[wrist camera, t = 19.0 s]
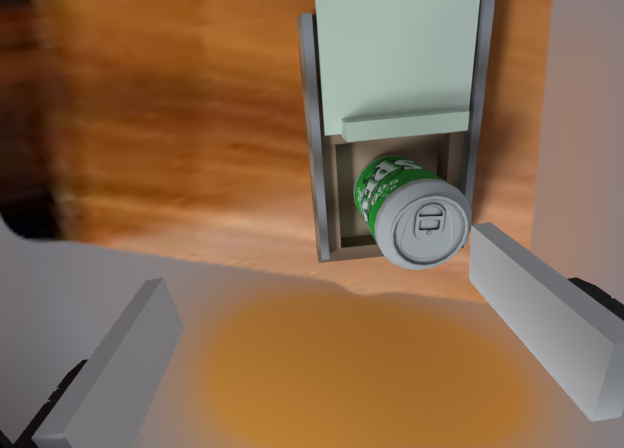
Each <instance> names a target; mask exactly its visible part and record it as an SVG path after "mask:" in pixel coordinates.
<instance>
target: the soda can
mask: <svg viewBox="0 0 624 448" xmlns="http://www.w3.org/2000/svg"><path fill="white" fill-rule="evenodd" d="M354 200H355V204H356V206H357V208H358V210H359V212H360V213H361V215H362V217H363V219H364V221H365V222H366V224H367V226H368V228H369V230H370V231H371V233H372V235H373V237H374V239H375V241H376V242H377V244H378V246H379V248H380V250H381V251H382V253H383V255H384V256H385V257H387V258H388V259H389V260H390V261H391V262H392V263H393V264H396V265H398V266H400V267H403V268H405V269H415V270H421V269H427V268H432V267H435V266H437V265H439V264H441V263H444V262H446V261H447V260H449V259H450V258H451V257H452V256H454V255H455V254H456V253H457V252H458V251H459V250H460V248H461V247H462V246H463V244H464V243H465V241H466V240H467V237H468V235H469V232H470V229H471V225H472V211H471V209H470V206H469V203H468V200H467V198H466V197H465V196H464V195H463V194H462V193H461V192H460V191H459V189H458V188H456V187H454V186H453V185H451V184H450V183H448V182H446V181H445V180H443V179H441V178H440V177H438V176H436V175H435V174H433V173H431V172H430V171H428V170H427V169H425V168H423V167H422V166H420V165H418V164H417V163H415V162H413V161H412V160H410V159H408V158H406V157H404V156H398V155H387V156H382V157H379V158H377V159H375V160H373V161H371V162H369V163H368V164H367V165H366V166H365V167H364V168H363V169H362V170H361V172H360V174H359V176H358V177H357V179H356V181H355V187H354Z"/></svg>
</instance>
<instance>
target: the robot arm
mask: <svg viewBox="0 0 624 448" xmlns="http://www.w3.org/2000/svg"><path fill="white" fill-rule="evenodd" d="M469 280H470V282H471V283H472V284H473V285H474V286H475V287H476V289H477V290H478V291H479V292H480V293H481V294H482V295H483V297H484V298H485V299H486V300H487V301H488V302H489V304H490V305H491V306H492V307H493V308H494V309H495V311H496V312H497V313H498V314H499V315H500V316H501V317H502V319H503V320H505V322H506V323H507V324H508V326H509V327H510V328H511V329H512V330H513V331H514V333H516V335H517V336H518V337H519V338H520V339H521V341H522V342H523V343H524V344H525V345H526V346H527V348H528V349H529V350H530V351H531V352H532V353H533V354H534V355H535V357H536V358H537V359H538V360H539V361H540V363H541V364H542V365H543V366H544V367H545V368H546V370H547V371H548V372H549V373H550V374H551V375H552V376H553V378H554V379H555V380H556V381H557V382H558V383H559V385H560V386H561V387H562V388H563V389H564V390H565V391H566V393H567V394H568V395H569V396H570V397H571V398H572V400H573V401H574V402H575V403H576V404H577V405H578V407H579V408H580V409H581V410H582V411H583V412H584V413H585V415H586V416H587V417H588V418H589V419H590V420H591V421H598V420H605V419H611V418H618V417H621V414H622V411H623V408H624V305H623V304H622V303H620V302H619V301H617V300H616V299H614V298H613V299H612V298H611V296H610V295H609V294H607V293H606V292H604V291H603V290H601V289H600V288H599V287H597V286H596V285H593V284H591V283H588V282H586V281H583V280H581V279H579V278H570V279H566V278H565V277H563V276H562V275H561V274H559V273H558V272H557V271H555V270H554V269H553V268H551V267H550V266H548V265H547V264H546V263H544V262H543V261H542V260H540V259H539V258H538V257H536V256H535V255H534V254H532V253H531V252H530V251H528V250H527V249H526V248H524V247H523V246H521V245H520V244H519V243H517V242H516V241H515V240H513V239H512V238H511V237H509V236H508V235H507V234H505V233H504V232H503V231H501V230H500V229H499V228H497V227H496V226H494V225H493V224H492V223H490V222H487V223H482V224H476V225H471V248H470V270H469ZM183 329H184V326H183V323H182V321H181V319H180V316H179V314H178V312H177V309H176V307H175V304H174V302H173V300H172V297H171V295H170V293H169V290H168V288H167V286H166V283H165V281H164V278H158V279H153V280H146V281H145V282H144V283H143V285H142V286H141V288H140V289H139V290H138V292H137V293H136V295H135V296H134V297H133V299H132V300H131V301H130V303H129V304H128V306H127V307H126V308H125V310H124V311H123V312H122V314H121V315H120V317H119V318H118V320H117V321H116V322H115V323H114V325H113V326H112V328H111V329H110V330H109V332H108V333H107V335H106V336H105V337H104V339H103V340H102V341H101V343H100V344H99V346H98V347H97V348H96V350H95V351H94V352H93V354H92V355H91V357H90V358H89V359H87V360H82V361H81V362H80V363H79V364H78V365H77V366H76V367H74V368H73V369H72V370H71V371H70V372H69V373H68V374H67V375H66V376H65V377H64V379H63V380H62V382H61V383H60V384H59V385H58V387H57V388H56V391H54V392H53V393H52V395H51V396H50V397H49V398H48V400H47V403H45V404H44V405H43V406H42V408H41V409H40V410H39V412H38V413H37V414H36V416H35V417H34V418H33V420H32V421H31V422H30V424H29V425H28V426H27V427H26V429H25V430H24V431H23V433H22V434H21V435H20V437H19V438H18V439H17V441H16V442H15V443H14V444H12V443H11V442H10V440H9V439H8V438H7V437H6V436H5V435H4V433H3V432H2V431H1V430H0V448H132V446H133V444H134V442H135V439H136V437H137V435H138V433H139V430H140V428H141V426H142V423H143V421H144V419H145V416H146V414H147V412H148V410H149V407H150V405H151V403H152V400H153V398H154V396H155V393H156V391H157V389H158V386H159V384H160V382H161V380H162V377H163V375H164V373H165V371H166V368H167V366H168V364H169V361H170V359H171V357H172V354H173V352H174V350H175V348H176V345H177V343H178V340H179V338H180V336H181V334H182V331H183Z"/></svg>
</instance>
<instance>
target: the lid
mask: <svg viewBox="0 0 624 448" xmlns="http://www.w3.org/2000/svg"><path fill="white" fill-rule="evenodd" d="M479 3H480V0H315V8H316V22H317V37H318V52H319V66H320V81H321V95H322V110H323V125H324V135H325V136H326V135H337V134H342V138H343V139H344V140H345V141H346V142H353V141H363V140H374V139H384V138H394V137H405V136H415V135H425V134H436V133H446V132H457V131H467V130H468V123H469V113H470V111H469V105H470V95H471V84H472V74H473V64H474V54H475V44H476V33H477V23H478V13H479Z"/></svg>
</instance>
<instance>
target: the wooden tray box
mask: <svg viewBox="0 0 624 448" xmlns="http://www.w3.org/2000/svg"><path fill="white" fill-rule="evenodd" d="M494 6H495V0H480V3H479V13H478V23H477V33H476V44H475V54H474V64H473V74H472V84H471V95H470V105H469V111H470V113H469V123H468V130H467V131H457V132H446V133H436V134H425V135H415V136H405V137H394V138H384V139H374V140H363V141H353V142H346V141H345V140H344V139H343V138H342V134H337V135H326V136H325V135H324V125H323V110H322V95H321V81H320V66H319V52H318V37H317V22H316V15H312V12H311V13H301V16H299V17H297V32H298V43H299V54H300V66H301V77H302V88H303V99H304V111H305V122H306V133H307V144H308V156H309V167H310V178H311V189H312V200H313V212H314V223H315V234H316V245H317V254H318V260H319V263H322V262H332V261H341V260H351V259H361V258H370V257H380V256H384V255H383V253H382V251H381V250H380V248H379V246H378V244H377V242H376V241H375V239H374V237H373V235H372V233H371V231H370V230H369V228H368V226H367V224H366V222H365V221H364V219H363V217H362V215H361V213H360V212H359V210H358V208H357V206H356V204H355V200H354V187H355V181H356V179H357V177H358V176H359V174H360V172H361V170H362V169H363V168H364V167H365V166H366V165H367V164H368V163H369V162H371V161H373V160H375V159H377V158H379V157H382V156H387V155H398V156H404V157H406V158H408V159H410V160H412V161H413V162H415V163H417V164H418V165H420V166H422V167H423V168H425V169H427V170H428V171H430V172H431V173H433V174H435V175H436V176H438V177H440V178H441V179H443V180H445V181H446V182H448V183H450V184H451V185H453V186H454V187H456V188H458V189H459V191H460V192H461V193H462V194H463V195H464V196H465V197H466V198H467V200H468V203H469V206H470V209H471V208H472V200H473V191H474V182H475V173H476V164H477V156H478V147H479V138H480V129H481V120H482V112H483V103H484V94H485V85H486V76H487V68H488V59H489V50H490V41H491V32H492V24H493V15H494ZM467 244H468V237H467V240H466V241H465V243H464V244H463V246H462V247H461V248H464V245H467Z"/></svg>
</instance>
